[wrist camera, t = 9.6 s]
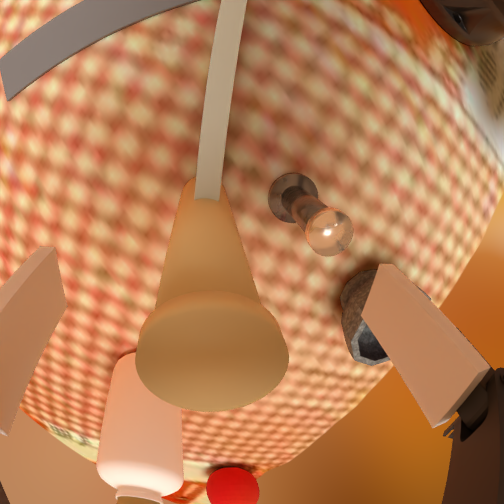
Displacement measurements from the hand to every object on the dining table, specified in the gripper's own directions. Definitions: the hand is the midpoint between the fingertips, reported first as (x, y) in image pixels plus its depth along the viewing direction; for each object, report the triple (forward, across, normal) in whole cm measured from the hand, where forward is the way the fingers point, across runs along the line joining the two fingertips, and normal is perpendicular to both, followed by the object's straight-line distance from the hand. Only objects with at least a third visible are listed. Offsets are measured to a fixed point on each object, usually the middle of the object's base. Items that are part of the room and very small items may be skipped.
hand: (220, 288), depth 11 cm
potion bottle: (+15, -7, -22) cm, 27 cm away
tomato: (+14, +5, -56) cm, 58 cm away
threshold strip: (+15, -10, +16) cm, 24 cm away
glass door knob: (+15, +7, 0) cm, 16 cm away
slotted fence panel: (+14, -1, +8) cm, 16 cm away
